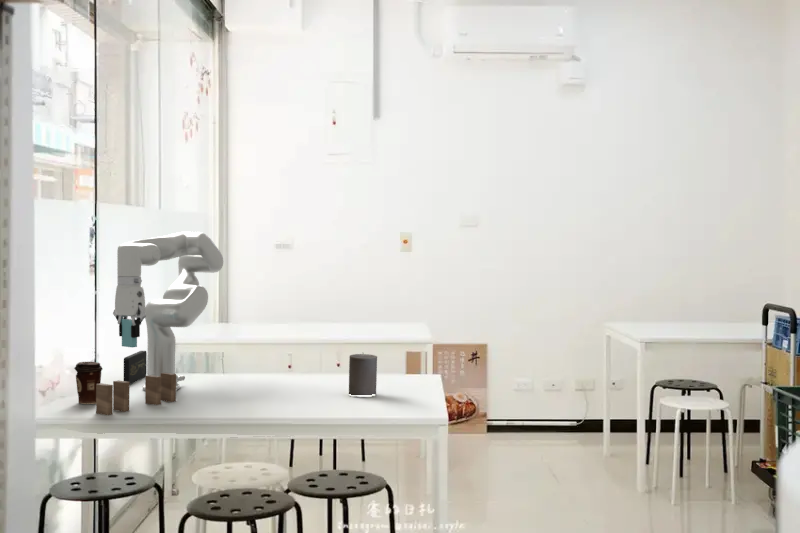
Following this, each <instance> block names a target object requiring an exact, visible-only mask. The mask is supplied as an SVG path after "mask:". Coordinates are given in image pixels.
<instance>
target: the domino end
mask: <svg viewBox="0 0 800 533" xmlns="http://www.w3.org/2000/svg"><path fill="white" fill-rule="evenodd" d="M176 375H177V374H176V373H175V374H173V373H161V402H162V401H163V402H167V403H174V401H175V402H177V390H176Z"/></svg>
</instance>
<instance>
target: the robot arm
mask: <svg viewBox="0 0 800 533" xmlns="http://www.w3.org/2000/svg"><path fill="white" fill-rule="evenodd" d="M116 254H117V256H116V257H117V259H116V260H117V262H116V263H117V269H116V270H117V286H116V288H115V296H114V298H115V299H114V310H113V312H112V315H113V316H114V317H115V318H116V321H117V325H118V335H119V336H118V337H122V319H128V317H130V319H131V320H132V326H131V337H132V338H135V337H137V338H140V335H141V333H140V331H141V330H140V329H141V328H140V326H141V325H142V322H144V319H145V323H146V333H147V365H146V376H147V375H154V376H161V373H173V374H176V345H177V344H176V343H177V342H176V336H175V334H174V331H173V329H172V328H188V327H190V326H191V325H193V323H194V322H195V321H196V320H197V319H198V318H199V316H200V315H201V314H202V313H203V312H204V310H205V309H206V308H207V305H208V303H209V294H208V290H207V288H206V287H204V286H202V285H201V284H200V282H199V278H197V276H196V273H203V274H204V273H205V274H207V273H209V274H210V273H211V274H214V273H218V272H220V271H221V270H222V269H223V266H224V258H223V254H222V252H221V250H219V247H217V246H216V244H215V243H214V242H213V240H212V238H210V237H209V236H208V235H207V234H206V233H204V232H202V231H201V232H200V231H197V232H196V231H195V232H193V231H192V232H191V231H181V232H176V233H175V232H174V233H171V234H168V235H163V236H156V237H151V238H150V237H149V238H145V239H144V238H143V239H138V240H131V241H128V242H124V243H122V244H120V245H118V246H117V253H116ZM178 257H179V258H178ZM176 258H178V263H177V264H178V277H177V279H176V280H175V281H174V282H173V283H172V284H170V286H169V287H168V288H167V289H166V291H165V292H164V294H163V296H162V299H161V298H158V299H152V300H150V301H148V303H147V304H146V300H145V299H146V297H145V290H144V287H143V286H142V281H143V280H142V266H143V267H144V266H146V267H147V266H148V267H151V266H155V265H157V263H159V262H160V261H161V262H162V261H170V260H173V259H176ZM185 379H186V376H185V375H184V374H181V375H178V374H176V391H177V390H179V389H180V387H181V386H180V384H179V383H178V382H182V381H185ZM142 390H143V391H145V384H144V385H143V386H142Z"/></svg>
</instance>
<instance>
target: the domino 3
mask: <svg viewBox="0 0 800 533" xmlns="http://www.w3.org/2000/svg"><path fill="white" fill-rule="evenodd" d="M144 378H145V379H144V380H145V382H144V385H145V390H144V392H145V393H144V394H145V395H144V396H145V402H144V404H146V405H153V406H159V405H162V401H161V376H154V375H147V374H146V376H145V377H144Z"/></svg>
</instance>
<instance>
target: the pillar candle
mask: <svg viewBox="0 0 800 533" xmlns="http://www.w3.org/2000/svg"><path fill="white" fill-rule="evenodd" d="M348 363H349V364H348V366H349V367H348V368H349V369H348V394H351V395H372V394H376V395H377V383H378V382H377V379H378V378H377V376H378V374H377V373H378V371H377V370H378V369H377V368H378V356H377V355H375V354H370V353H369V354H366V353H365V354H364V353H359V354H358V353H355V354H350V355H349V362H348Z"/></svg>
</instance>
